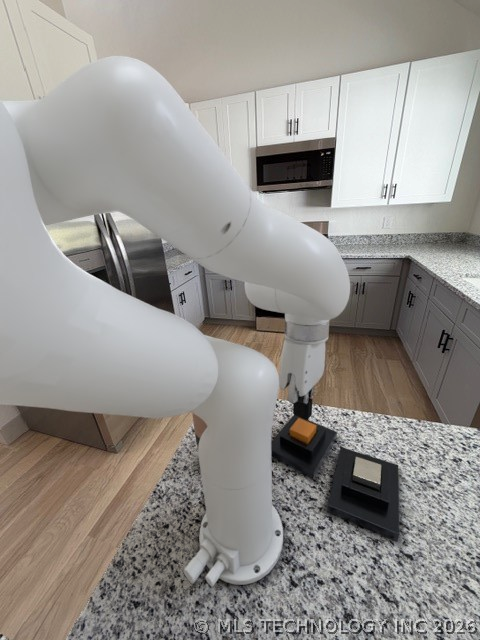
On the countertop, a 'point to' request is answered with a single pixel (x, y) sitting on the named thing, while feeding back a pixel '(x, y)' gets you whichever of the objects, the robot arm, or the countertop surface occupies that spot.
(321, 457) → the rear keypad
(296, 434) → the amber key
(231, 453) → the robot arm
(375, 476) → the white key
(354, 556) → the countertop surface
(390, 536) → the front keypad
